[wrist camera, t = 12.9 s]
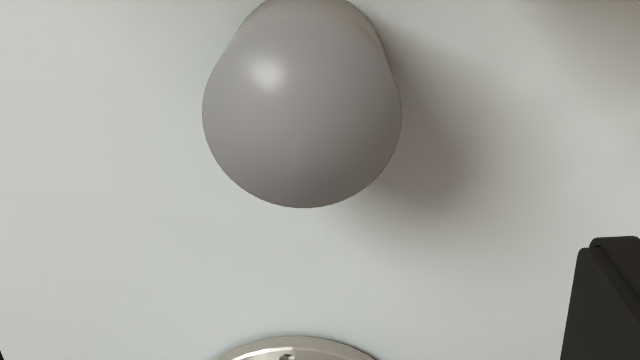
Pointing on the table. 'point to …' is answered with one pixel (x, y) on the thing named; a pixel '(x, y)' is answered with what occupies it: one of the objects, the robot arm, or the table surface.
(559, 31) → the table surface
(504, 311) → the table surface
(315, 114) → the grey rounded blob
